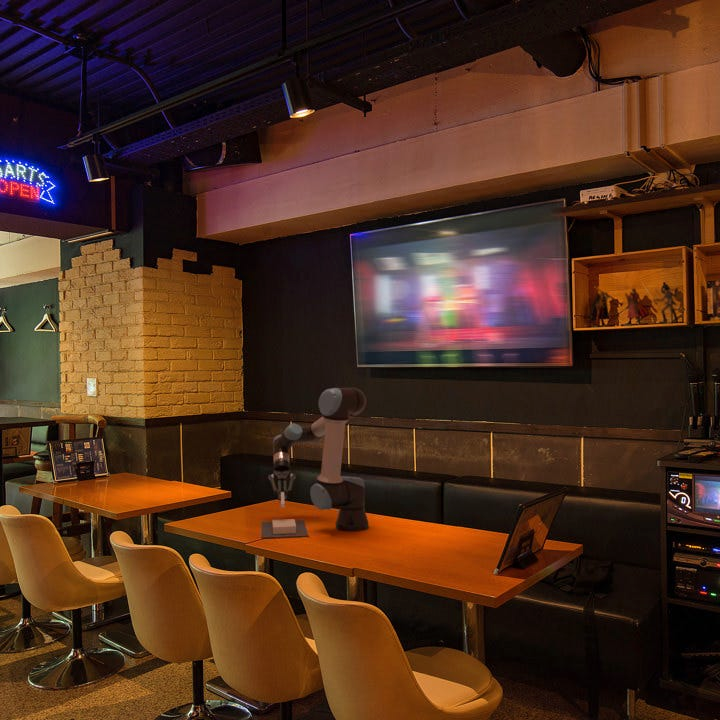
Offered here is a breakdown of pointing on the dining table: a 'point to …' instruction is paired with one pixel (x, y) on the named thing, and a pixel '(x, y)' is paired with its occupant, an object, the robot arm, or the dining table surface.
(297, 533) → the mat
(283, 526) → the tile
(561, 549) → the dining table surface
